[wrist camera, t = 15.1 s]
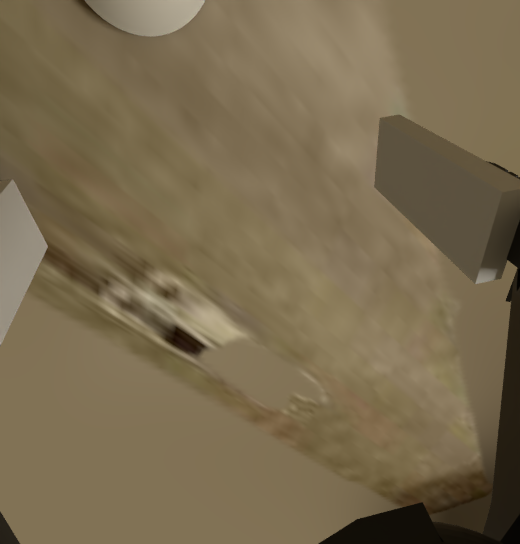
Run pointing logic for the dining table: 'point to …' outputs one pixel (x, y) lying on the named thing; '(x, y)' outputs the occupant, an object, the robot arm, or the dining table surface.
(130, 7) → the white dome
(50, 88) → the dining table surface
